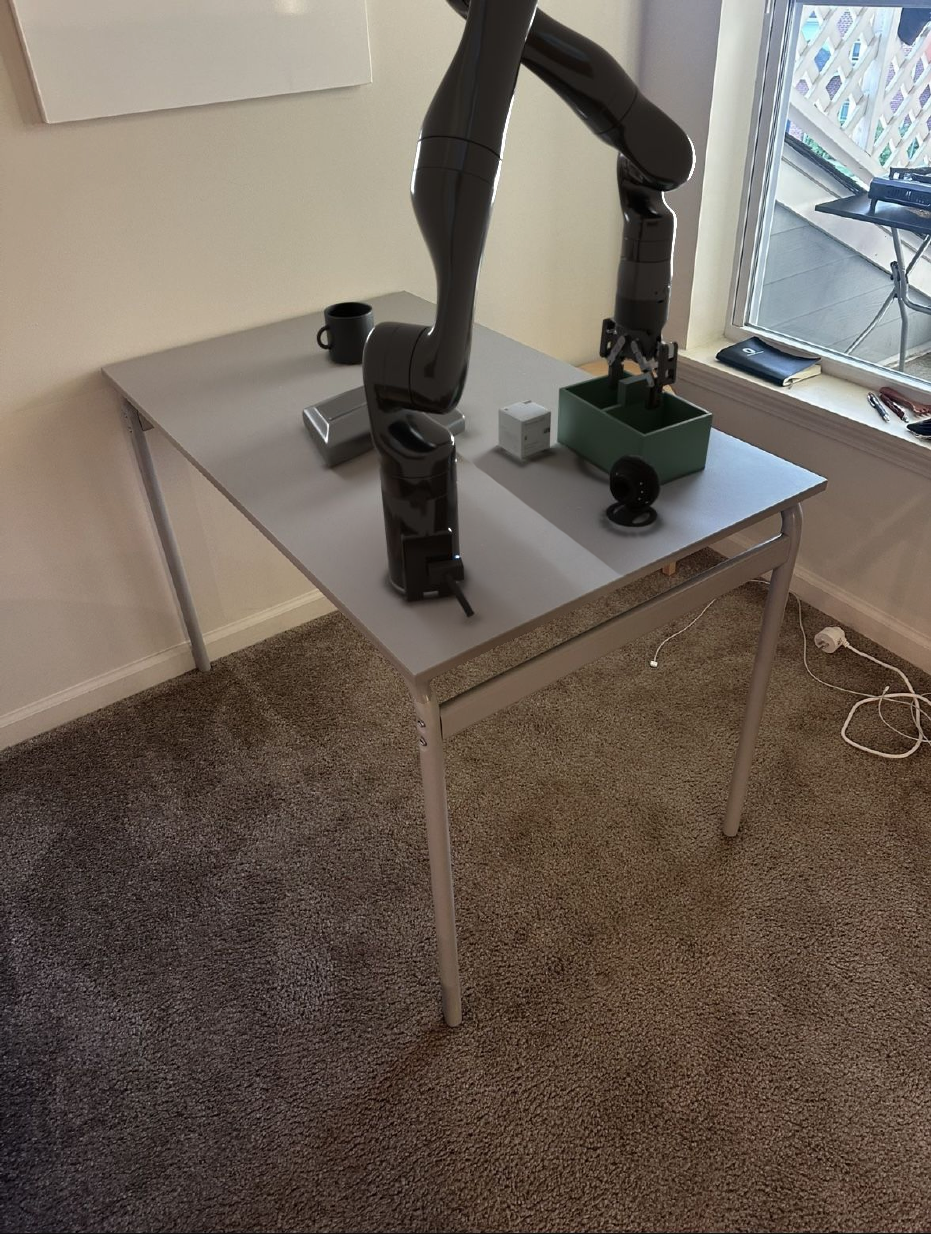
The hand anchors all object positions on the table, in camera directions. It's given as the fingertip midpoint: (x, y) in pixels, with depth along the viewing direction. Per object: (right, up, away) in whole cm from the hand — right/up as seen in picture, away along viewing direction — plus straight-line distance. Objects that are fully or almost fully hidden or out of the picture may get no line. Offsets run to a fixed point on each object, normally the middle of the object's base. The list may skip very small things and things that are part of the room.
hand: (633, 398), depth 134 cm
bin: (0, -7, +6) cm, 9 cm away
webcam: (-2, -19, -7) cm, 21 cm away
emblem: (-39, -2, +17) cm, 42 cm away
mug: (-49, +19, +44) cm, 68 cm away
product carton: (-16, -7, +10) cm, 20 cm away
